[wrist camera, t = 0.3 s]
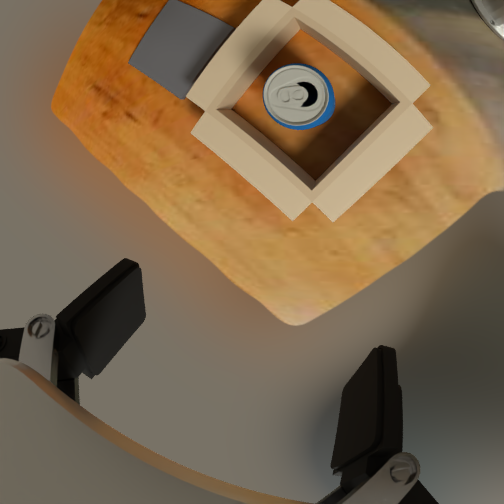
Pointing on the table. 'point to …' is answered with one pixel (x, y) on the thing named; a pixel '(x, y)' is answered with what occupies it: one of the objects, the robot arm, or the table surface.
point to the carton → (266, 152)
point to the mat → (179, 46)
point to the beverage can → (298, 96)
